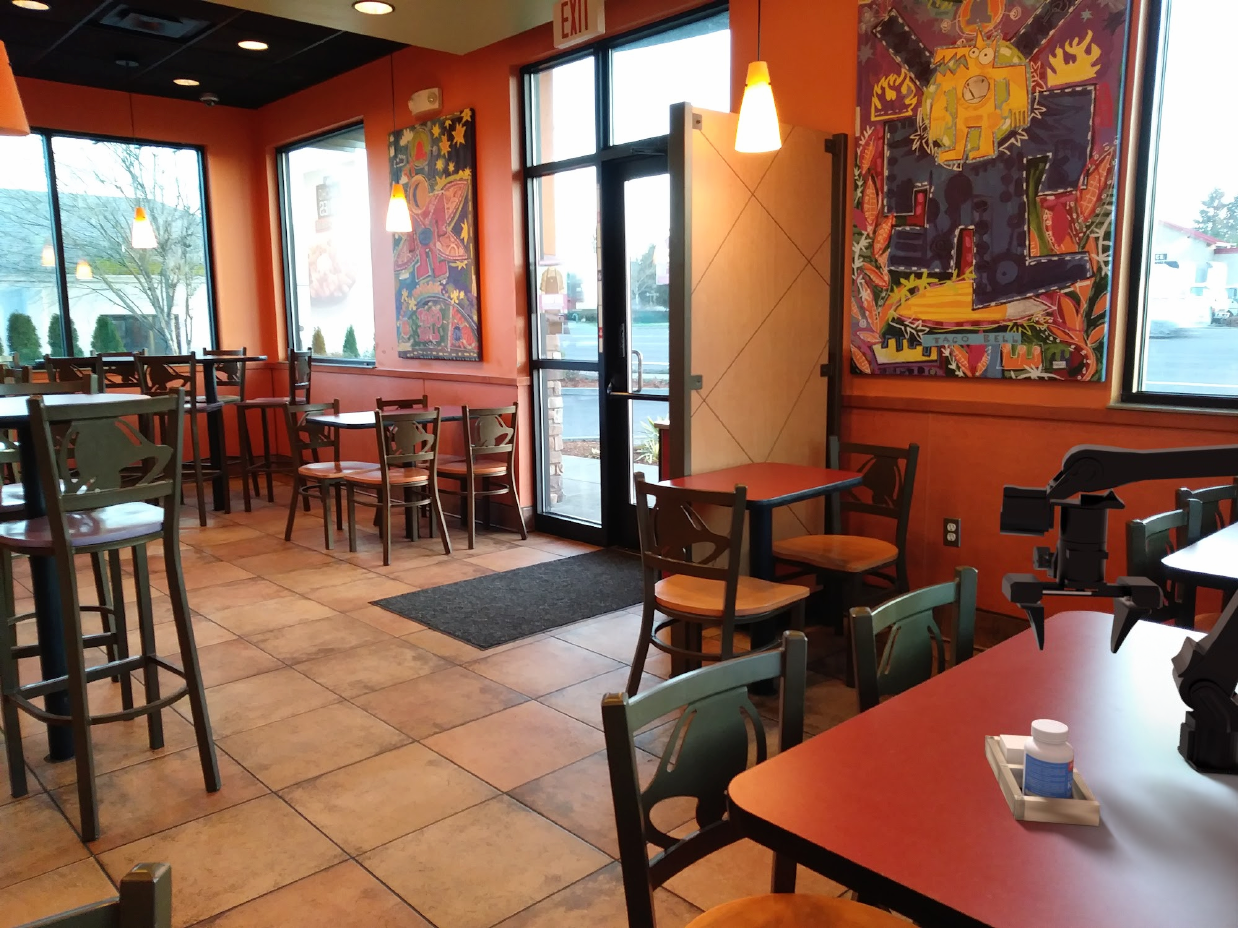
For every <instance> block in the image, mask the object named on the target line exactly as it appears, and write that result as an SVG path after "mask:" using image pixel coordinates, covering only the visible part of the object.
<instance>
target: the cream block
mask: <svg viewBox="0 0 1238 928" xmlns="http://www.w3.org/2000/svg"><path fill="white" fill-rule="evenodd" d="M999 737H1000V747H999V749H1000V751H1001V753H1002V755H1003V757H1004V759H1005V761H1006V763H1007V764H1015V765H1024V745H1025V742H1026V741H1027V740H1028V739H1029V738H1031V737H1032V735H1031V736H1030V735H1029V736H1028V735H1014V734H1012V735H1011V734H999Z"/></svg>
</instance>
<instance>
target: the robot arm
mask: <svg viewBox="0 0 1238 928" xmlns="http://www.w3.org/2000/svg"><path fill="white" fill-rule="evenodd" d="M1061 463H1062V464H1061V469H1060V470H1059V472H1058V473H1057V474H1056V475H1055V476H1054V477H1052V479H1049V482H1048V483H1047V485H1046V486H1045V487H1035V486H1034V487H1032V486H1020V485H1019V486H1018V485H1015V484H1004V485H1003V488H1002V489H1003V491H1002V504H1001V508H1000V513H999V514H1000V515H999V535H1000V534H1001V535H1010V536H1011V535H1014V536H1026V537H1027V536H1029V537H1045V533H1050V530H1051V531H1054V527H1055V512H1056V511H1055V508H1056V507H1059V522H1058V523H1059V528H1058V540H1057V541H1056V545H1055V551H1054V552H1053V551H1052V550H1051V547H1050V546H1034V547H1033V553H1032V565H1033V569H1034V570H1039V571H1040V570H1041V571H1043V570H1044V571H1045V570H1046V575H1047V576H1046V577H1048V578H1051V579H1052V580H1056V581H1044V580H1040V578H1039V579H1038V577H1037V576H1036V575H1035V574H1034V573H1013V572H1009V573H1008V572H1007V573H1006V574H1005V575H1004V576H1003V578H1002V580H1001V593H1003V595H1004V596H1005V597H1006V599H1007V600H1008V601H1009V602H1010V603H1012V604H1013V603H1014V604H1016V605H1017V606H1018V608H1020V609H1021V610H1024V611H1025V614H1026V615H1027V617H1028V620H1029V623H1030V626H1031V629H1032V630H1031V631H1032V633H1033V636H1034V639H1035V643H1036V645H1037V648H1038V650H1039V651H1043V650H1044V647H1045V606H1044V605H1043V604H1042V602H1041V600H1042V599H1043V597H1044V596H1045V597H1046V596H1050V597H1053V596H1055V597H1080V598H1081V597H1083V598H1085V597H1087V598H1109V599H1112V601H1113V602H1112V603H1113V610H1114V611H1113V618H1112V628H1111V633H1110V634H1111V635H1110V641H1109V642H1110V653H1112V654H1117V653H1118V651H1119V650H1120V648H1121V646H1122V645H1123V643H1124V641H1125V640H1126V638H1127V636H1128V635H1129V634H1130V632H1131V630H1132V629H1133V628H1134V626H1135V625H1136V624H1137V623H1138V621H1140V619H1141V618H1142V617H1143V615H1145V614H1148V615H1149V614H1151V613H1152V609H1151V608H1153V609H1161V608H1163V605H1164V592H1163V590H1162V588H1161V587H1160V586H1159V585H1158V584H1156V583H1155V582H1153V581H1152V580H1150V579H1149V578H1148V577H1146V576H1125V575H1124V576H1122V575H1120V576H1118V577H1117V578H1116V580H1115V583H1114V582H1113V583H1109V582H1107V581H1106V580H1105V579H1106V578H1105V577H1106V560H1109V557H1110V555H1109V553H1110V552H1109V551H1108V550H1107V542H1108V526H1109V525H1108V521H1109V510H1125V509H1126V504H1125V502H1124V500H1123V499H1122V498H1120V497H1119V496H1118V495H1117V494H1116V493H1115V491H1114V489H1116V488H1120V487H1123V486H1126V485H1131V484H1132V483H1138V482H1142V481H1158V480H1159V481H1160V480H1162V481H1163V480H1175V479H1176V480H1179V479H1182V480H1183V479H1200V478H1205V479H1206V478H1221V477H1238V443H1236V444H1235V443H1234V444H1233V443H1232V444H1220V445H1219V444H1218V445H1215V444H1214V445H1203V446H1202V445H1201V446H1185V447H1182V446H1181V447H1167V448H1166V447H1165V448H1150V449H1135V448H1125V447H1121V446H1120V447H1119V446H1118V447H1117V446H1112V445H1104V444H1103V445H1102V444H1089V443H1083V444H1078V445H1074V446H1073V447H1071V448H1070V449H1068V451H1067V452H1066V453H1065V454H1064V455H1063V458H1062V461H1061ZM1105 490H1107V491H1105ZM1102 491H1105V492H1103V493H1096V492H1102ZM1094 492H1095V493H1094ZM1078 493H1079V496H1078V498H1070V497H1072V496H1074V495H1076V494H1078ZM1170 661H1171V663H1172V666H1173V667H1172V672H1171V675H1172V679H1173V681H1174V684H1175V687H1176V689H1177V692H1178V695H1179V697H1180V699H1181V701H1182V702H1183V703H1184V705H1185V706H1186V707H1188V708H1190V709H1191V710H1185V714H1184V715H1185V716H1184V717H1185V718H1184V722H1181V723H1180V727H1179V728H1180V729H1179V743H1178V746H1176V747H1177V748H1176V749H1177V751H1178V752H1179V754H1181V756H1182V757H1183V758H1184V759H1185V760H1186V761H1187V762H1188V763H1189V764H1190V766H1191V767H1192V768H1193V769H1194V770H1196V771H1198V772H1204V773H1205V772H1206V773H1219V774H1235V775H1238V692H1236V688H1237V686H1238V589H1237V590H1236V591H1235V593H1234V595H1232V598H1231V599H1230V600H1229V602H1228V603H1227V605H1226V606H1225V608H1224V610H1223V611H1222V614H1221V615H1220V616H1219V618H1218V619H1217V621H1216V622H1215V624H1214V626H1213V627H1212V629H1211V631H1210V632H1208V633H1207V634H1206V635H1205V636H1204V637H1202V638H1200V639H1199V640H1198V641H1196V640H1195V639H1193V638H1192V637H1190V636H1186V637H1185V639H1184V640H1183V642H1182V645H1181V648H1180V650H1179V651H1178V653H1177V654H1176V655H1175V656H1173V657H1171V659H1170Z"/></svg>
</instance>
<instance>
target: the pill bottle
mask: <svg viewBox="0 0 1238 928" xmlns="http://www.w3.org/2000/svg"><path fill="white" fill-rule="evenodd" d="M1030 733H1031V736H1032V737H1031V738H1029V739H1028V740H1027V741H1026V742H1025V745H1024V767H1023V788H1022V791H1021V793H1022V795H1023V796H1033V797H1047V798H1061V799H1073V797H1072V785H1073V768H1074V764H1075V763H1074V761H1075V751H1074V748H1073V746H1072V745H1071V744H1070V743H1068V741H1069V727H1068V726H1067V725H1066V724H1064V723H1063V722H1060V721H1057V720H1053V719H1047V718H1046V719H1045V718H1043V719H1042V718H1039V719H1036V720H1033V721H1032V722H1031V728H1030Z"/></svg>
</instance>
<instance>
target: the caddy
mask: <svg viewBox="0 0 1238 928" xmlns="http://www.w3.org/2000/svg"><path fill="white" fill-rule="evenodd" d="M984 739H985V740H984V741H985V744H984V755H985V756H986V759H987V762H988V763H989V766H990V767H991V770H992V772H993V773H994V777H995V779H996V781H997V783H998V785H999V787H1000V789H1001V792H1002V794H1003V796H1004V798H1005V800H1006V803H1007V805H1008V807H1009V809H1010V811H1011V814H1012V815H1013V818H1014V820H1017V821H1028V822H1029V821H1030V822H1041V823H1054V824H1068V825H1069V824H1070V825H1082V826H1094V827H1095V826H1096V827H1100V811H1101V810H1100V809H1101V805H1100V804H1099V802H1098V800H1097V799H1096V797H1095V796H1094V794H1093V793H1092V791H1091V790H1090V788H1089V787H1088V785H1087V783H1086V782H1085V780H1084V779H1083V777H1082V776H1081V775H1080V772H1079V771H1078V770H1077V768H1074V767H1073V785H1072V799H1061V798H1047V797H1033V796H1023V795H1022V791H1021V789H1020V788H1022V789H1023V767H1024V765H1015V764H1007V763H1006V761H1005V759H1004V757H1003V755H1002V753H1001V751H1000V749H999V747H1000V736H996V735H995V736H993V735H985V738H984Z"/></svg>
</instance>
